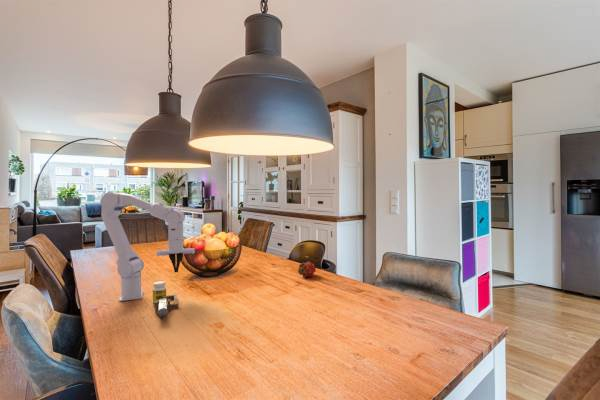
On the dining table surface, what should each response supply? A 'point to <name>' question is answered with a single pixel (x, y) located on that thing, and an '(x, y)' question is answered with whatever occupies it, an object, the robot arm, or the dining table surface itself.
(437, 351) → the dining table surface
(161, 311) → the lock pin
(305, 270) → the dragon fruit
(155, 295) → the supplement bottle
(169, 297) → the mount
